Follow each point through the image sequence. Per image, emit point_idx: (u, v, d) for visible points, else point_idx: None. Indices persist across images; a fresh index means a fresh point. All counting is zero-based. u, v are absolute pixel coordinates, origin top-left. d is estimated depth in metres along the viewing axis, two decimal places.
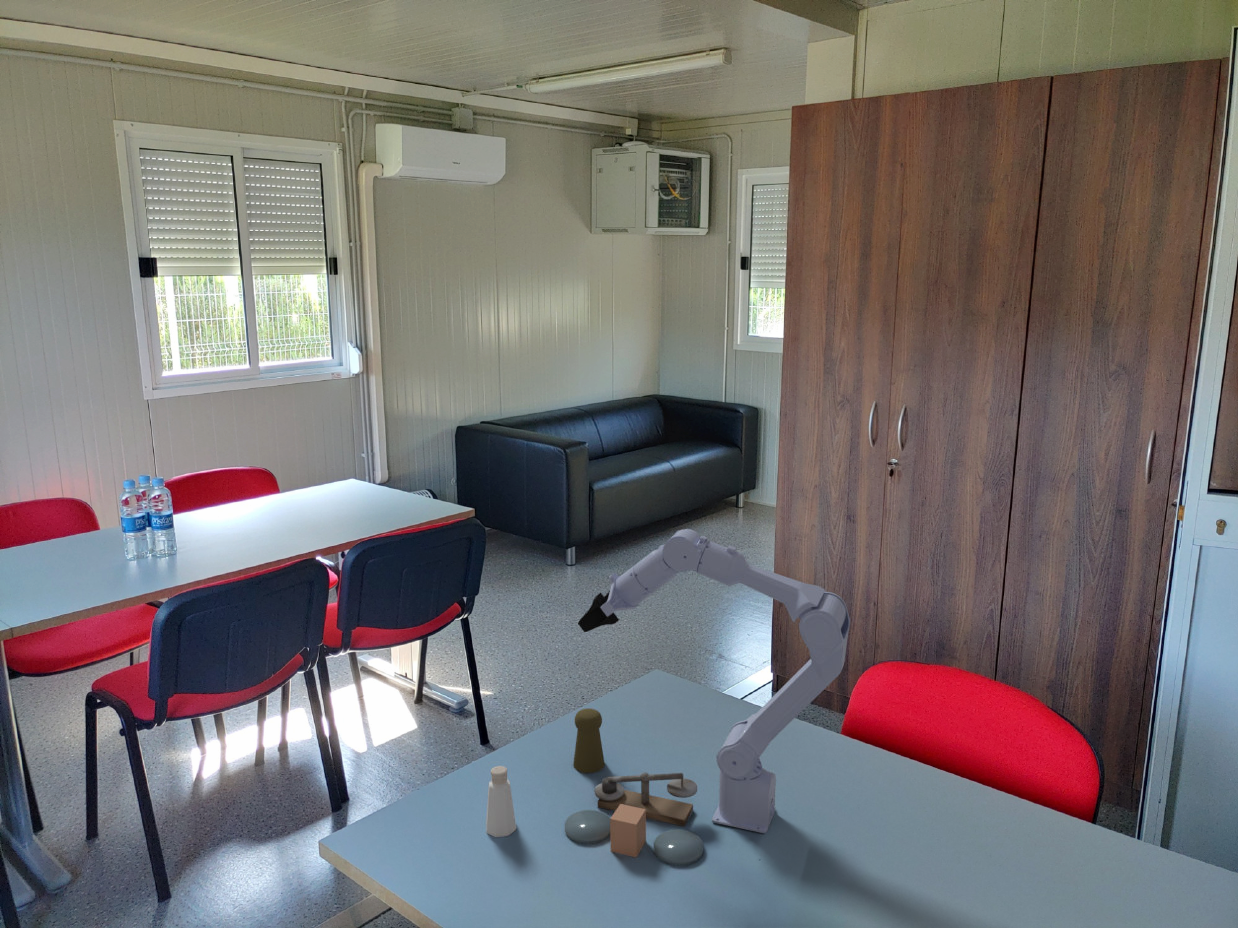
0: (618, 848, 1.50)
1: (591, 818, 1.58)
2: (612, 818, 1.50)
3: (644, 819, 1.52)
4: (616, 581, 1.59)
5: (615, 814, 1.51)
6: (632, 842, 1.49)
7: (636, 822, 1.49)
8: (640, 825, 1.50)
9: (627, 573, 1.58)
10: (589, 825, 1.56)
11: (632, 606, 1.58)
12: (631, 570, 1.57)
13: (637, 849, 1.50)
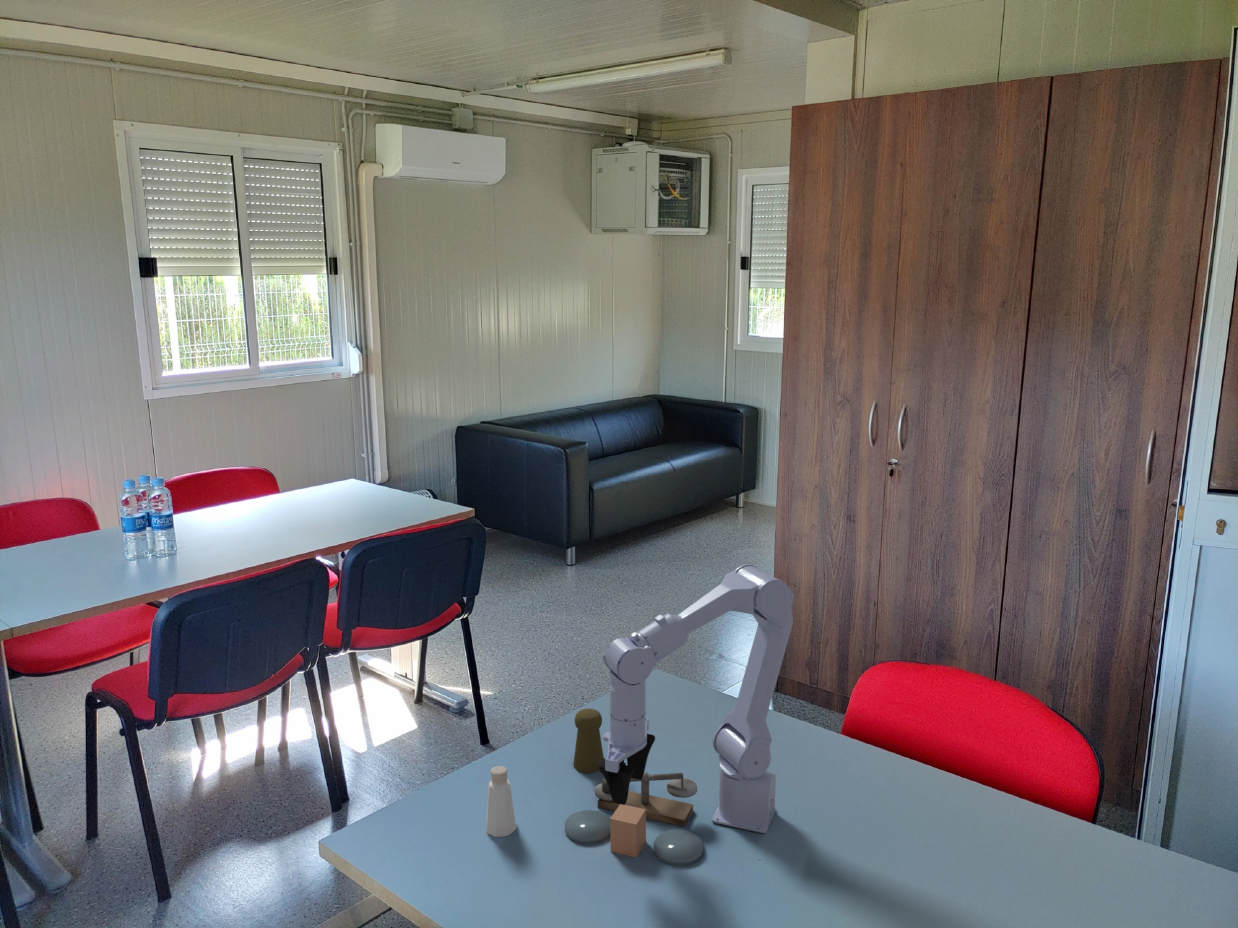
0: (618, 848, 1.50)
1: (591, 818, 1.58)
2: (612, 818, 1.50)
3: (644, 819, 1.52)
4: (610, 737, 1.48)
5: (615, 814, 1.51)
6: (632, 842, 1.49)
7: (636, 822, 1.49)
8: (640, 825, 1.50)
9: (610, 722, 1.47)
10: (589, 825, 1.56)
11: (638, 745, 1.46)
12: (610, 716, 1.47)
13: (637, 849, 1.50)
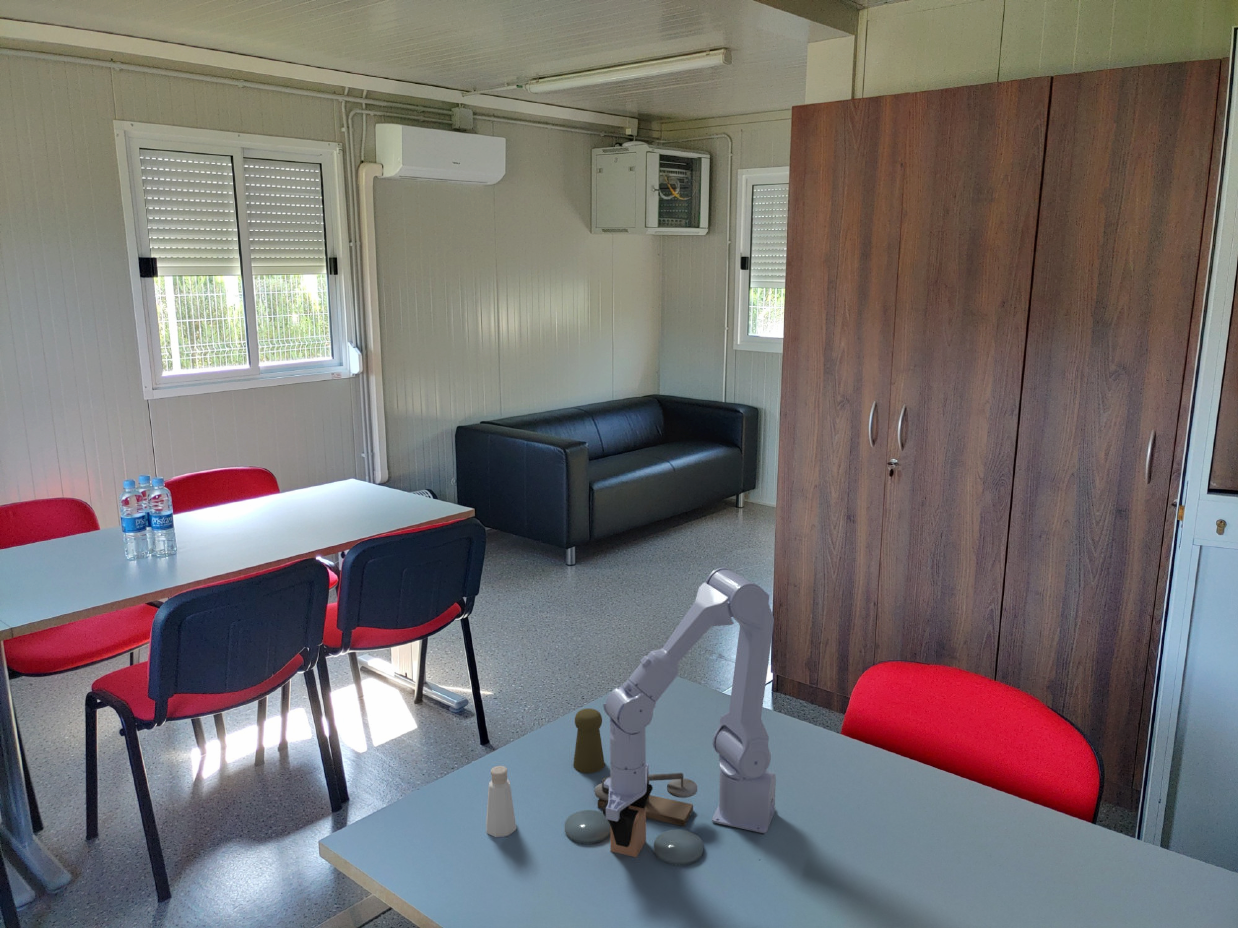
0: (618, 847, 1.50)
1: (591, 818, 1.58)
2: None
3: (644, 819, 1.52)
4: (610, 784, 1.50)
5: None
6: (632, 842, 1.49)
7: (636, 822, 1.49)
8: (640, 824, 1.50)
9: (610, 769, 1.49)
10: (589, 825, 1.56)
11: (638, 793, 1.47)
12: (610, 764, 1.49)
13: (637, 849, 1.50)
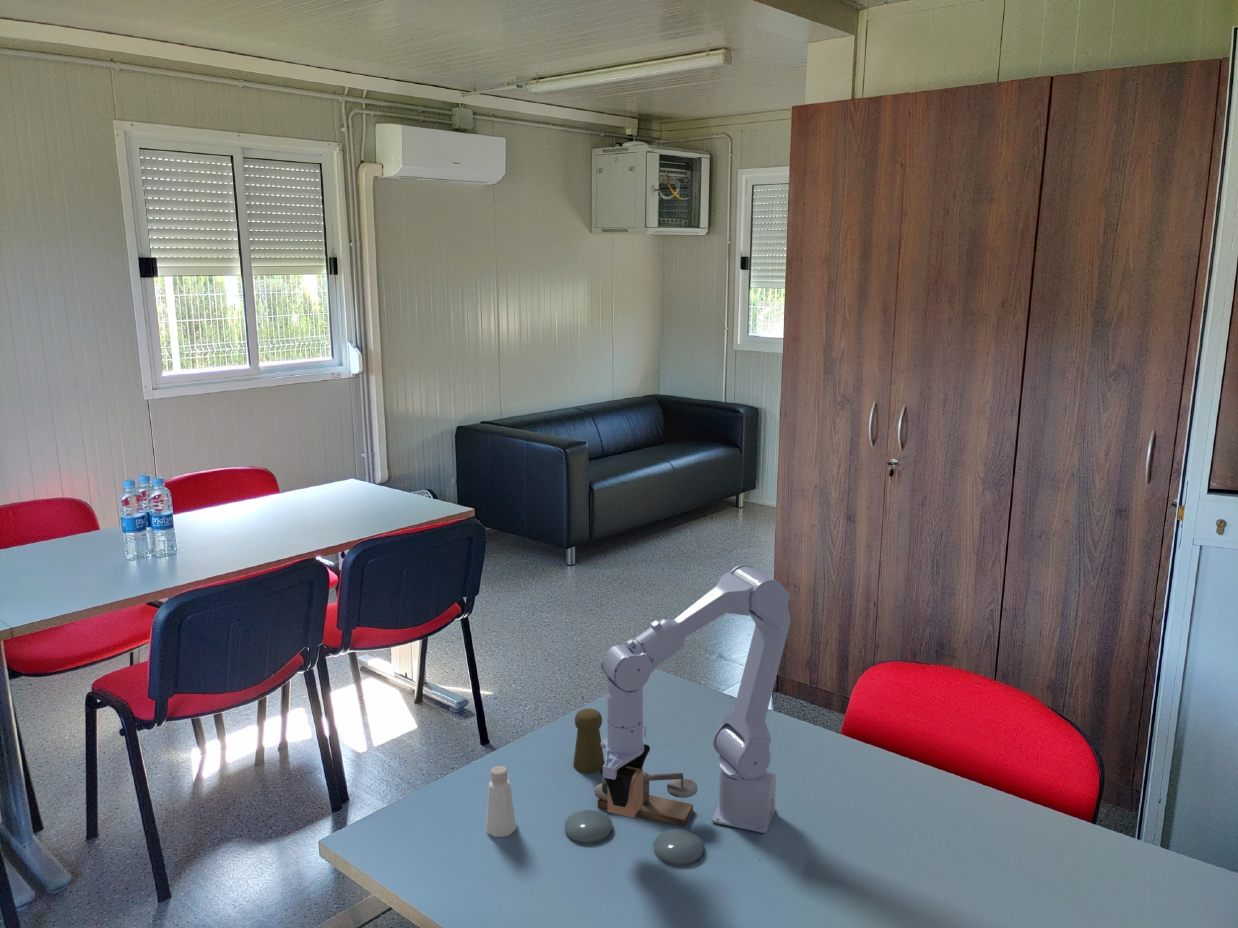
0: (615, 808, 1.49)
1: (591, 818, 1.58)
2: None
3: (641, 779, 1.51)
4: (607, 744, 1.48)
5: None
6: (629, 802, 1.48)
7: (633, 782, 1.47)
8: (638, 785, 1.49)
9: (607, 729, 1.48)
10: (589, 825, 1.56)
11: (636, 752, 1.46)
12: (607, 723, 1.47)
13: (634, 809, 1.48)
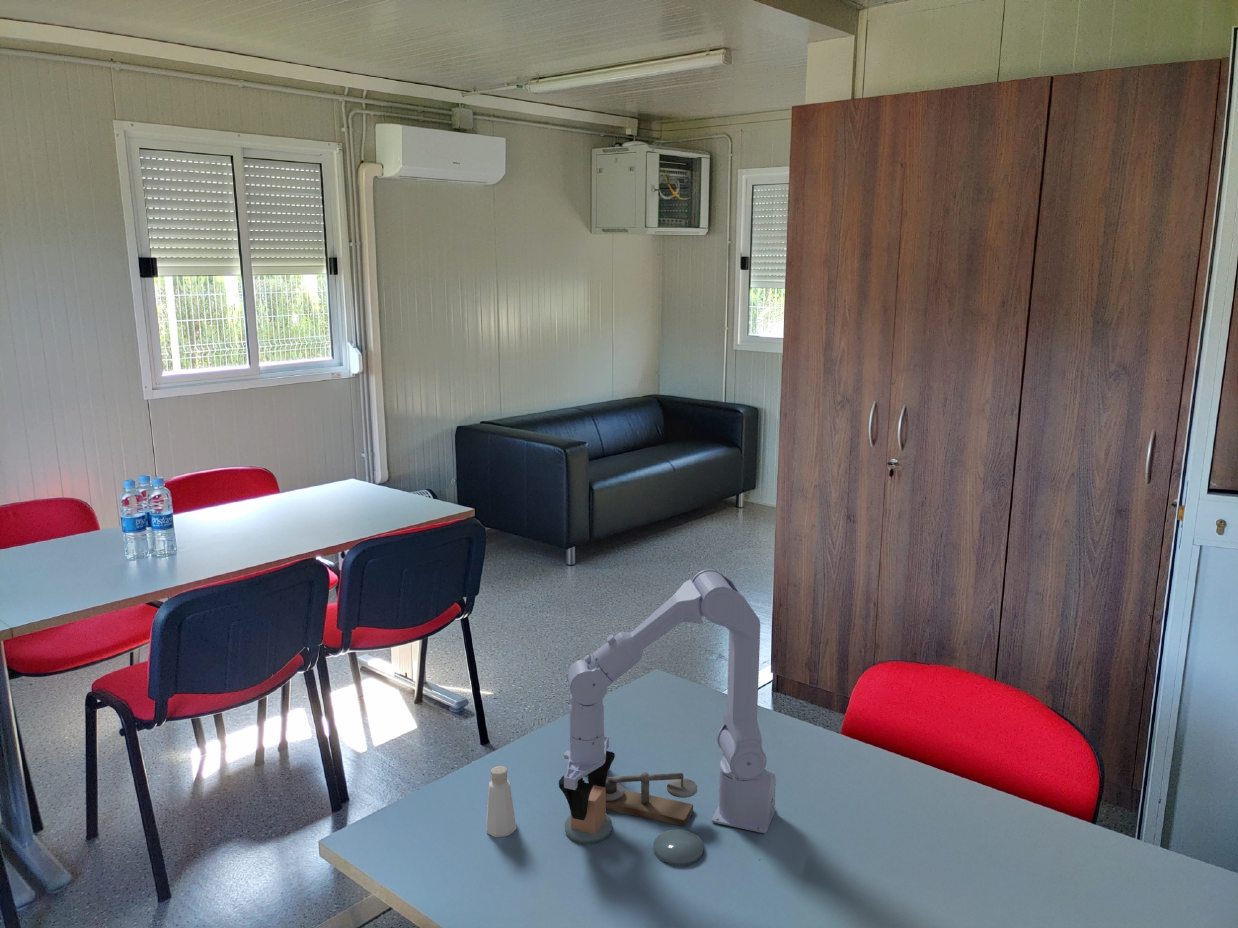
0: (578, 825, 1.55)
1: None
2: None
3: (604, 797, 1.56)
4: (570, 755, 1.54)
5: None
6: (591, 819, 1.54)
7: (595, 800, 1.53)
8: (600, 802, 1.55)
9: (570, 740, 1.53)
10: None
11: (597, 763, 1.52)
12: None
13: (596, 826, 1.54)
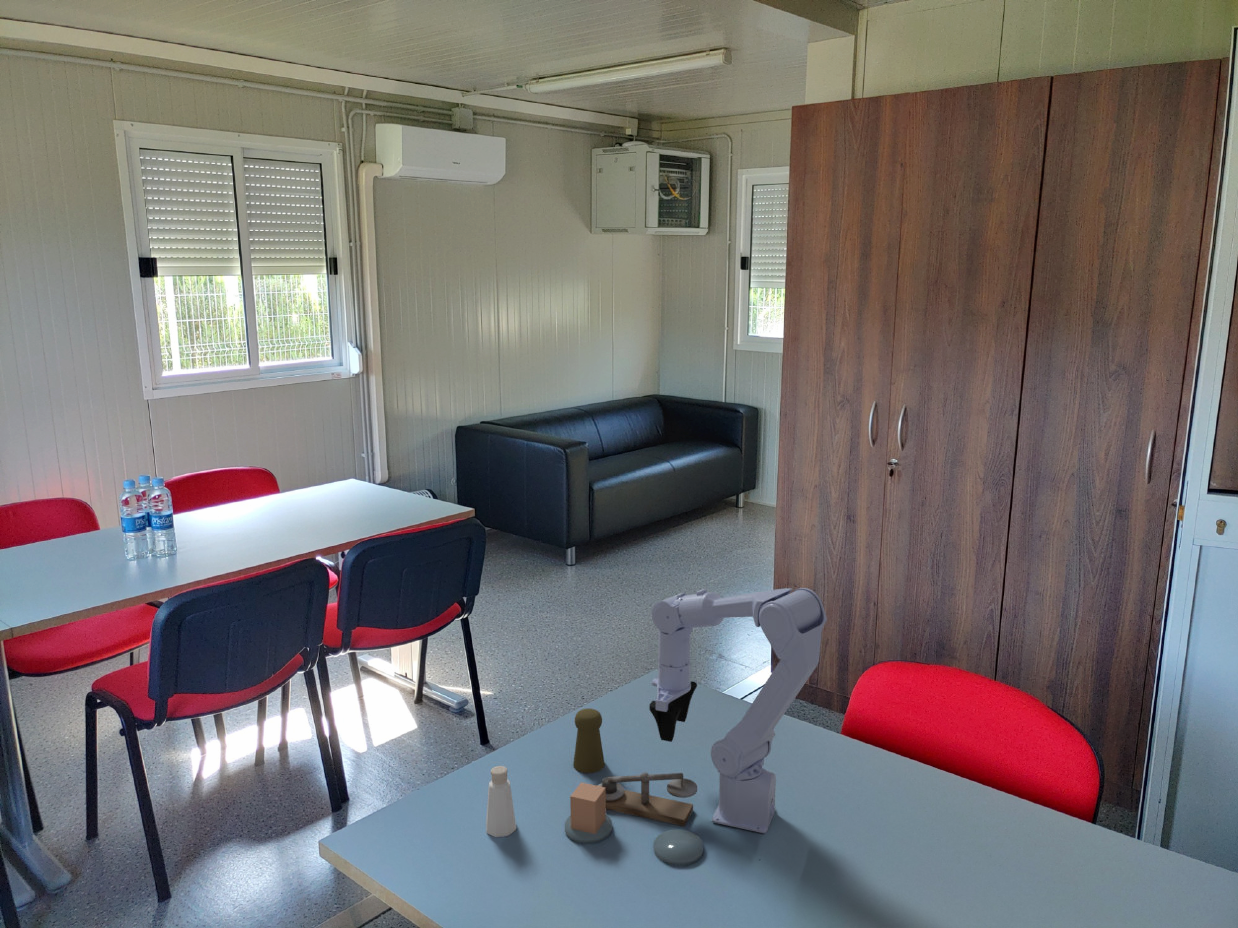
0: (578, 825, 1.55)
1: None
2: (572, 796, 1.54)
3: (604, 797, 1.56)
4: (658, 682, 1.67)
5: (575, 792, 1.55)
6: (591, 819, 1.54)
7: (595, 800, 1.53)
8: (600, 802, 1.55)
9: (658, 669, 1.66)
10: None
11: (684, 689, 1.64)
12: (658, 664, 1.66)
13: (596, 826, 1.54)
